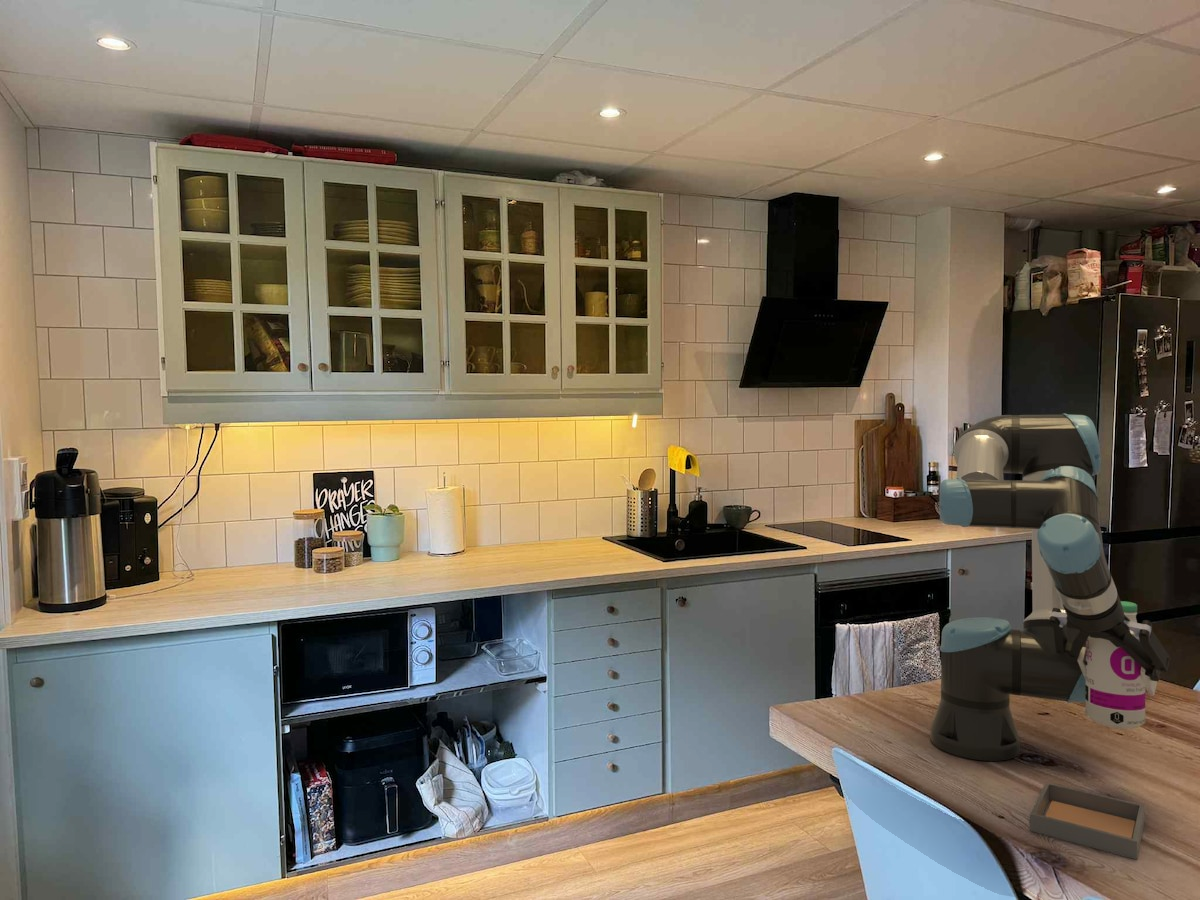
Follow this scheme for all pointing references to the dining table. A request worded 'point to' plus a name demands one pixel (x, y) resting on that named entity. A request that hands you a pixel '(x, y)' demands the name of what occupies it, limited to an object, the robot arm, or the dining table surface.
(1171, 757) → the dining table surface
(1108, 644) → the supplement can
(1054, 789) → the tray
